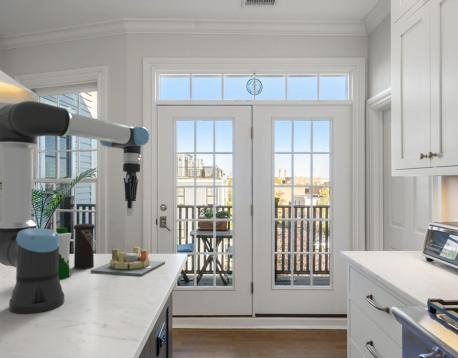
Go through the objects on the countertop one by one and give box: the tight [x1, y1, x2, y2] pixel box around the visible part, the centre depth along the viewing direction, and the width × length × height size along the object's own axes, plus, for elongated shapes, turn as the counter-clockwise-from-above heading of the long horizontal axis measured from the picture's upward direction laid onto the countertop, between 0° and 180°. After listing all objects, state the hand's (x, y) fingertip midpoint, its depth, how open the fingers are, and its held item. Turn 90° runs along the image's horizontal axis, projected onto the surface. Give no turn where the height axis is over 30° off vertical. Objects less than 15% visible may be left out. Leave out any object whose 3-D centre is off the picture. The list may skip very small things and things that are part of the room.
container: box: [73, 223, 96, 270], centre depth 161 cm, size 9×9×20 cm
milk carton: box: [55, 226, 73, 281], centre depth 142 cm, size 9×9×20 cm
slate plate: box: [90, 252, 166, 277], centre depth 159 cm, size 24×24×6 cm
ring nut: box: [109, 246, 150, 269], centre depth 160 cm, size 17×17×7 cm
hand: (130, 215), depth 157 cm, fingers closed
